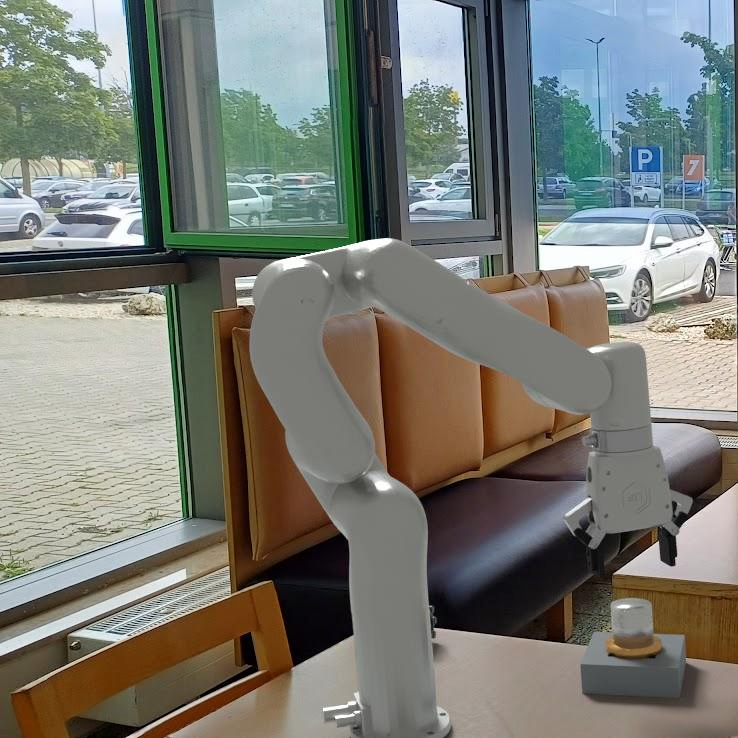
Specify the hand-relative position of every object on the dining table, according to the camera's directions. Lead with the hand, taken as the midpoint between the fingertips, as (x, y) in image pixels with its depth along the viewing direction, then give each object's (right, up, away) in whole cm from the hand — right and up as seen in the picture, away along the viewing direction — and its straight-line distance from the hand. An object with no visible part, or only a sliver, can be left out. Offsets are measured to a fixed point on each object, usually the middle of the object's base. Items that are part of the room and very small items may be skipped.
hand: (633, 569), depth 148 cm
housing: (+1, -15, +1) cm, 16 cm away
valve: (-30, -16, +24) cm, 42 cm away
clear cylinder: (+1, -14, +1) cm, 14 cm away
